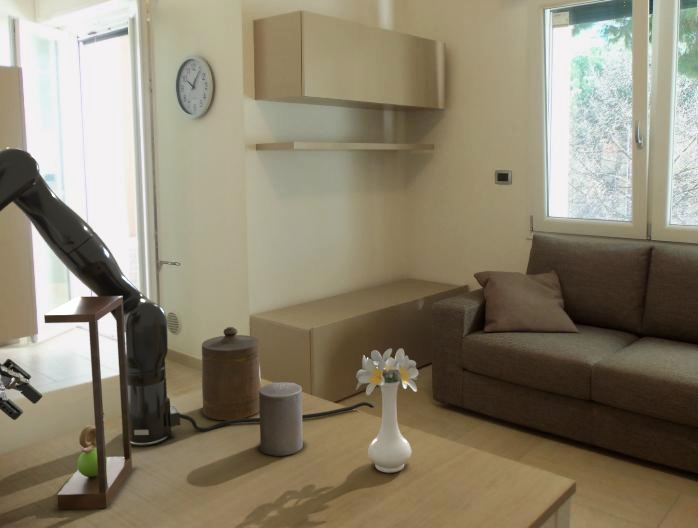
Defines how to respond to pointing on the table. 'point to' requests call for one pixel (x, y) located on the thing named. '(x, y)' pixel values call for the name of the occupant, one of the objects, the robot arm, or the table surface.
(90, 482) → the shelf unit
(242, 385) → the wooden container
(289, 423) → the pillar candle
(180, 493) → the table surface
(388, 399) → the flower vase
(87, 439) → the snail figurine
